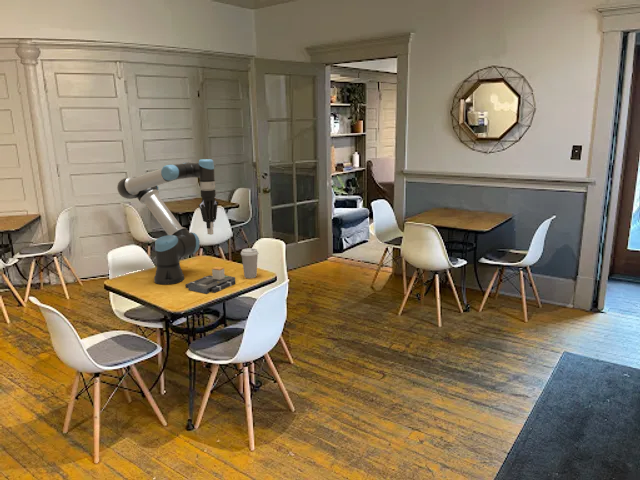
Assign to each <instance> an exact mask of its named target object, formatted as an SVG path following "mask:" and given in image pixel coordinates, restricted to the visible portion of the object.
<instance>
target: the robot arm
mask: <svg viewBox="0 0 640 480" xmlns="http://www.w3.org/2000/svg"><path fill="white" fill-rule="evenodd" d="M190 178H197V179H198V178H199V187H200V188H199V189H200V197H201V198H202V199H201V203H200V204H198V207H199V210H200V212H201V213H200V214H201V218H202V221H203V222H204V223H206V229H207V235H214V227H215V226H214V222H216V219H217V215H218V213H217V212H218V206H219V201H216V198H215V197H216V196H217V195H216V194H217V193H216V180H215V164H214V160H213V159H210V158H208V159H206V158H203V159H199V160H198V162H183V163H176V164H167V165H163V167H161V168H159V169H156V170H153V171H149V172H146V173H144V174H141V175H138V176H129V177H124V178H122V179H120V180H119V182H118V183H117V187H116V189H117V192H118V194H119V195H120V196H121V197H123V198H124V199H127V200H128V199H129V200H130V199H138V201H139V202H140V204H143V205H145V206H146V207H147V208H148V210H149V211H150V213H151V214H152V215H153V217H154V218H155V219H156V221H157V222H158V223H159V225H160V226H161V227H162V229H163V230H164V231H165V233H166V235H163V236H160V237H158V238H156V240H155V241H154V253H155V261H156V270H155V275H154V278H153V279H154V281H153V282H154V283H155V284H157V285H162V286H163V285H173V284H175V285H176V284H179V283H181V282H183V281H184V280H185V275H184V273H183V270H182V267H181V265H180V263H181V262H180V259H182V258H184V257H187V256H191V255H193V254H195V253H197V252H198V250H199V248H200V243H201V241H200V238H199V236H198V235H197V234H196V233H194V232H192V231H191V232H190V231H189V230H188V229H187V228H186V227H183V226H182V225H181V223H180V222H179V220H178V219H176V217H175V216H174V214H173V213H172V211H170V209H169V208H168V206H167V205H166V204H165V202H164V201H163V200H162V198H161V197H160V196H159V194H160V193H159V192H160V191H159V186H160V185H164V184H166V183H169V182H172V181H177V180H181V179H183V180H184V179H190Z"/></svg>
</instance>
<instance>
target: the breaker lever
mask: <svg viewBox="0 0 640 480" xmlns="http://www.w3.org/2000/svg"><path fill="white" fill-rule="evenodd" d="M211 272H212V273H211V276H213V279H218V280H221V279H224V278H225V267H222V266H214V267H212V268H211Z"/></svg>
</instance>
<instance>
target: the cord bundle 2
mask: <svg viewBox="0 0 640 480" xmlns="http://www.w3.org/2000/svg"><path fill="white" fill-rule="evenodd" d="M234 285H236V280H235V281H234V280H232V281H229V282H226V283H225V284H222V285H220V286H216V287H215V288H213V289H212V292H211V293H214V294H215V293H218V292H221V291H223V290H224V289H227V288H229V287H230V288H231V287H233V286H234Z"/></svg>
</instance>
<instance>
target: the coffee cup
mask: <svg viewBox="0 0 640 480" xmlns="http://www.w3.org/2000/svg"><path fill="white" fill-rule="evenodd" d="M240 255H241V261H242V266H243V267H242V269H243V274H244V278H245V279H254V278H257V277H256V276H258V275H257V272H258V258H259V257H258V256H259V251H258V249H257V248H253V247H252V248H251V247H249V248H243V249H241V251H240Z"/></svg>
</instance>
